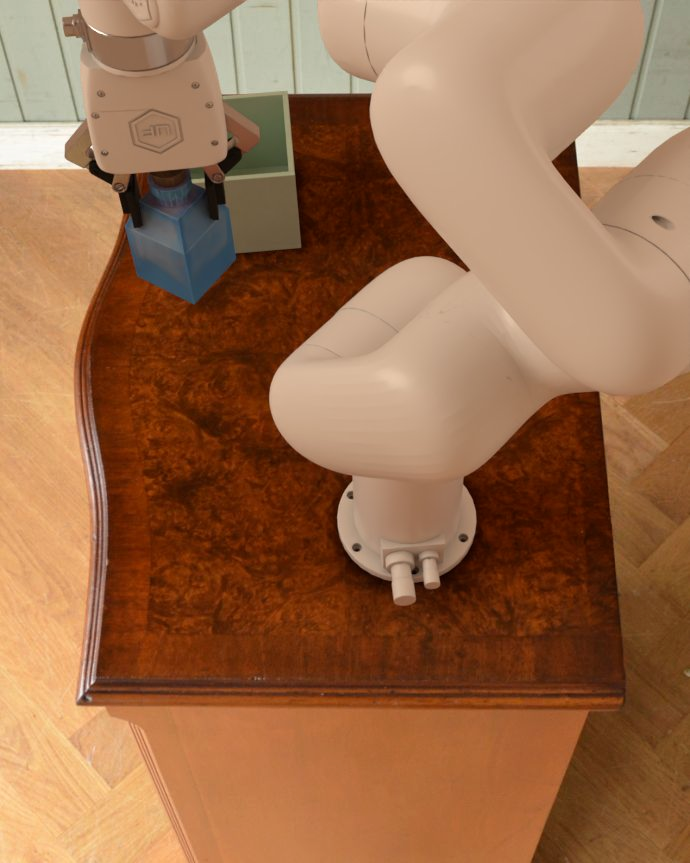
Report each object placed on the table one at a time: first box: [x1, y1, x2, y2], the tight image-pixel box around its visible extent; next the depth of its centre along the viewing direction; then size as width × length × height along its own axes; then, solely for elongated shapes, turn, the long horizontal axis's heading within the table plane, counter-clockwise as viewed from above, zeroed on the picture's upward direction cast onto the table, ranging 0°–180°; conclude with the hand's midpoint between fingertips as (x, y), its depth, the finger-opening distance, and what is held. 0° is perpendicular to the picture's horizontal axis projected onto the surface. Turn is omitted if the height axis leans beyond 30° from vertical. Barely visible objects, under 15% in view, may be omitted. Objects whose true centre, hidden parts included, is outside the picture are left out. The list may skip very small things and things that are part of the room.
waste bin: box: [188, 90, 302, 254], centre depth 124 cm, size 13×13×11 cm
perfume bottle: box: [124, 168, 237, 305], centre depth 96 cm, size 6×6×12 cm
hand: (176, 210), depth 95 cm, fingers closed on perfume bottle, 5 cm apart
